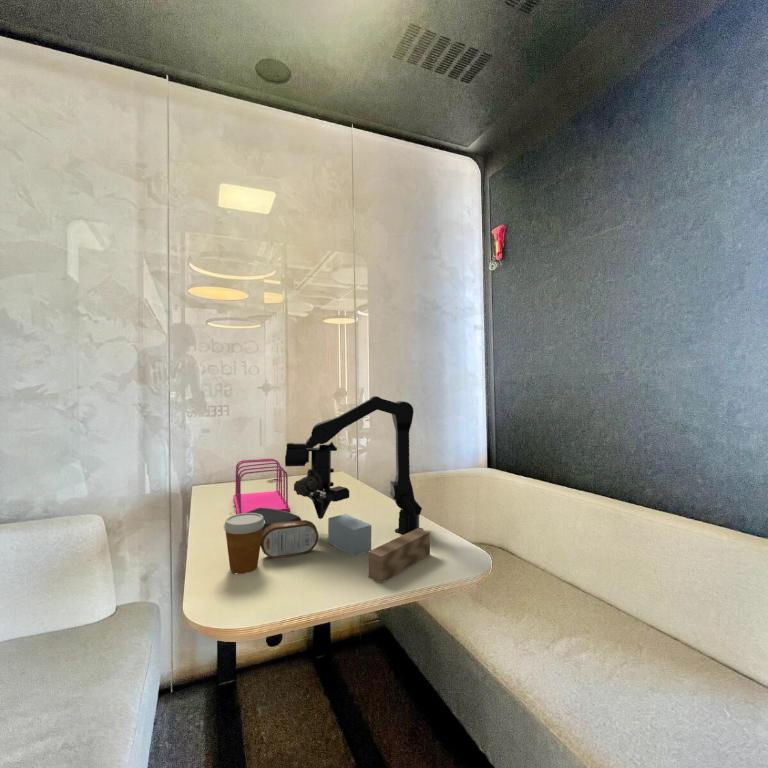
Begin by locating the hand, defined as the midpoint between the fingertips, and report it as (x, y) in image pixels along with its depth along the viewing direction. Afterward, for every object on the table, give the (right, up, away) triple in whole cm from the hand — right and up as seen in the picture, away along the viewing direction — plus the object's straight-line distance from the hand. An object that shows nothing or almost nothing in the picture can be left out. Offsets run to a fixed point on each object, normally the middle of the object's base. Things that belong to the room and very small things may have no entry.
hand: (320, 518), depth 117 cm
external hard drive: (-18, -6, +7) cm, 20 cm away
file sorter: (-27, -5, +29) cm, 40 cm away
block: (+9, -5, -8) cm, 13 cm away
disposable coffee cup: (-15, -5, -21) cm, 27 cm away
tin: (-6, -5, -13) cm, 15 cm away
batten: (+23, -5, -19) cm, 30 cm away
